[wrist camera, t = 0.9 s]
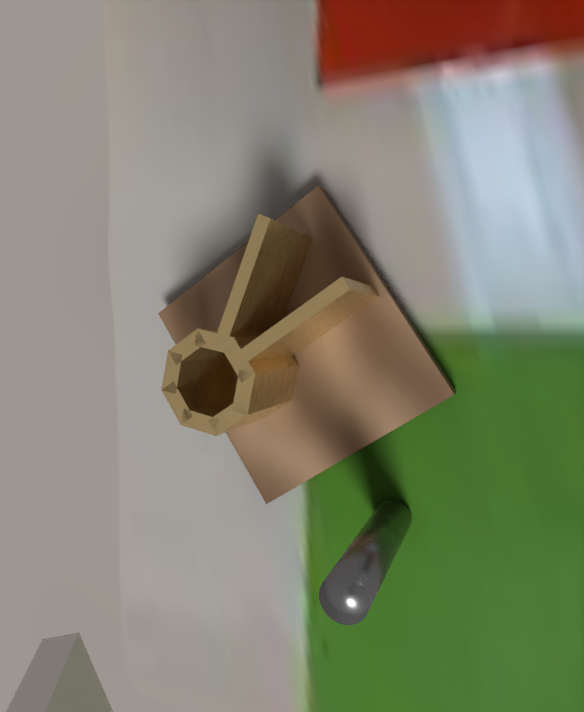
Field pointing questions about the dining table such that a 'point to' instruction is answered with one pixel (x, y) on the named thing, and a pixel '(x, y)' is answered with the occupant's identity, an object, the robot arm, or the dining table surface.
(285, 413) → the walnut board
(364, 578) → the hinge pin
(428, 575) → the dining table surface
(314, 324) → the brass hinge
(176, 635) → the dining table surface
